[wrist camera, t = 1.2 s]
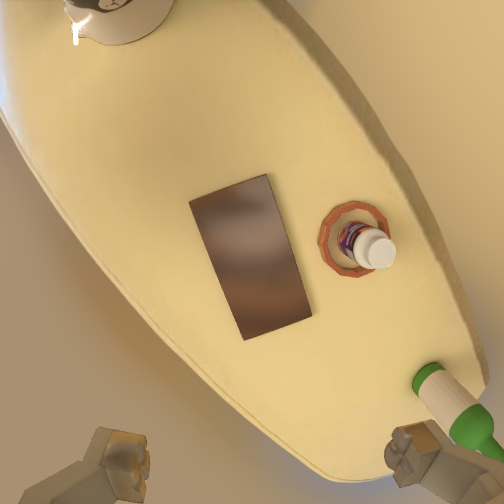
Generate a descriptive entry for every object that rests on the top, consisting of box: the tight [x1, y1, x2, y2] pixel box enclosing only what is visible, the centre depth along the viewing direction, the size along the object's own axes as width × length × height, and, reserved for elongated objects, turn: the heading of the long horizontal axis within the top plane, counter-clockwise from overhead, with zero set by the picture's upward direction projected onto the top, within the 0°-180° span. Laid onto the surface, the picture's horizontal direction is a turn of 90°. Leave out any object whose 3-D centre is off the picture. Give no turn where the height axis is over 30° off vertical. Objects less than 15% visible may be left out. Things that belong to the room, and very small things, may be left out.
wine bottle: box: [413, 364, 504, 462], centre depth 40 cm, size 8×8×30 cm
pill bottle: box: [338, 221, 396, 270], centre depth 41 cm, size 5×5×10 cm
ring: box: [318, 201, 391, 278], centre depth 45 cm, size 11×11×2 cm
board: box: [189, 174, 312, 341], centre depth 45 cm, size 22×11×1 cm, turn 19°
